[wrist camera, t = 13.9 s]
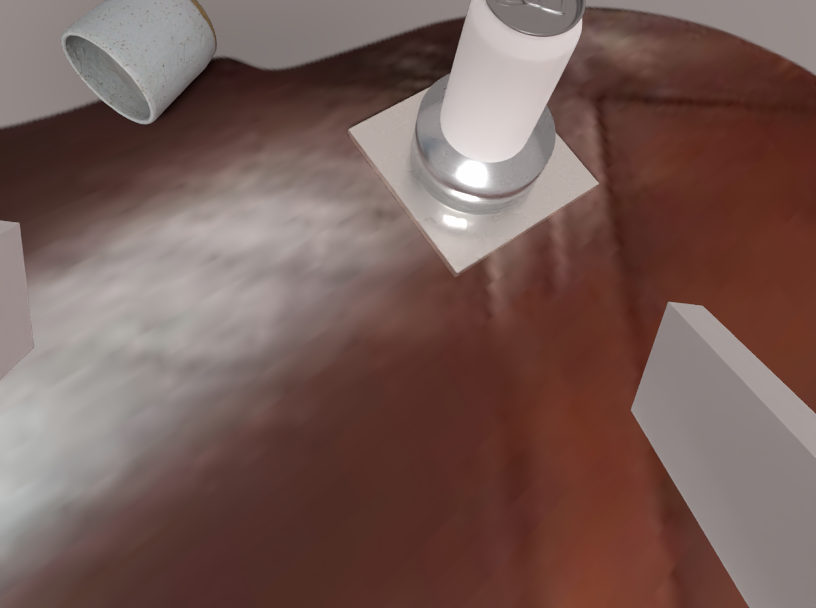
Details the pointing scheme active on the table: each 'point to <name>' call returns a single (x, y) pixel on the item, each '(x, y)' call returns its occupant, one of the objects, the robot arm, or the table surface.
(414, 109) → the duct collar
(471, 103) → the can
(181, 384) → the table surface
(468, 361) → the table surface
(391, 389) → the table surface
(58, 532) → the table surface
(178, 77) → the ceramic mug
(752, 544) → the robot arm
